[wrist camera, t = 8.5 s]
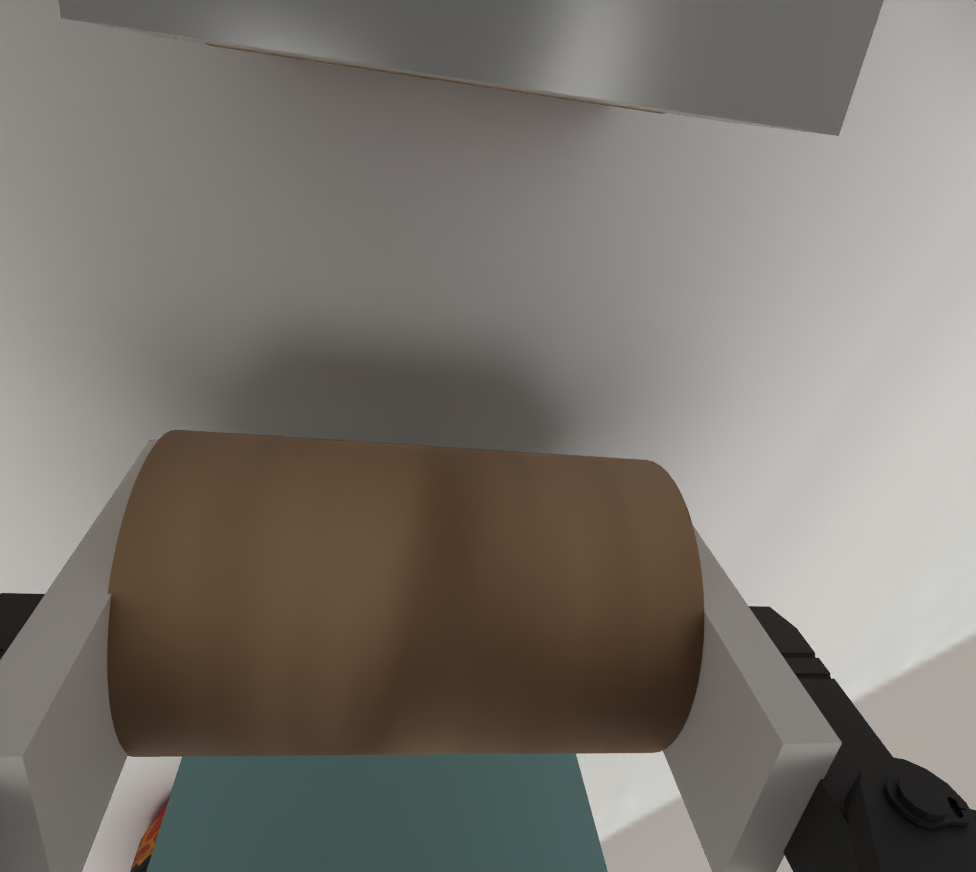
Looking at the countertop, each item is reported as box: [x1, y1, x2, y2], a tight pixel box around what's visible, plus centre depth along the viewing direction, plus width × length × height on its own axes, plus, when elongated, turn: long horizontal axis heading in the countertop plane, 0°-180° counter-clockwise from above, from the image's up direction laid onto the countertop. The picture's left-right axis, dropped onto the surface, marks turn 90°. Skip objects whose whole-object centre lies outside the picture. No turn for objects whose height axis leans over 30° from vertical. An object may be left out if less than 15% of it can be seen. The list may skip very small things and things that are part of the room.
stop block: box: [146, 753, 608, 872], centre depth 18 cm, size 3×10×9 cm, turn 82°
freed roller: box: [107, 430, 704, 757], centre depth 12 cm, size 5×8×5 cm, turn 82°
